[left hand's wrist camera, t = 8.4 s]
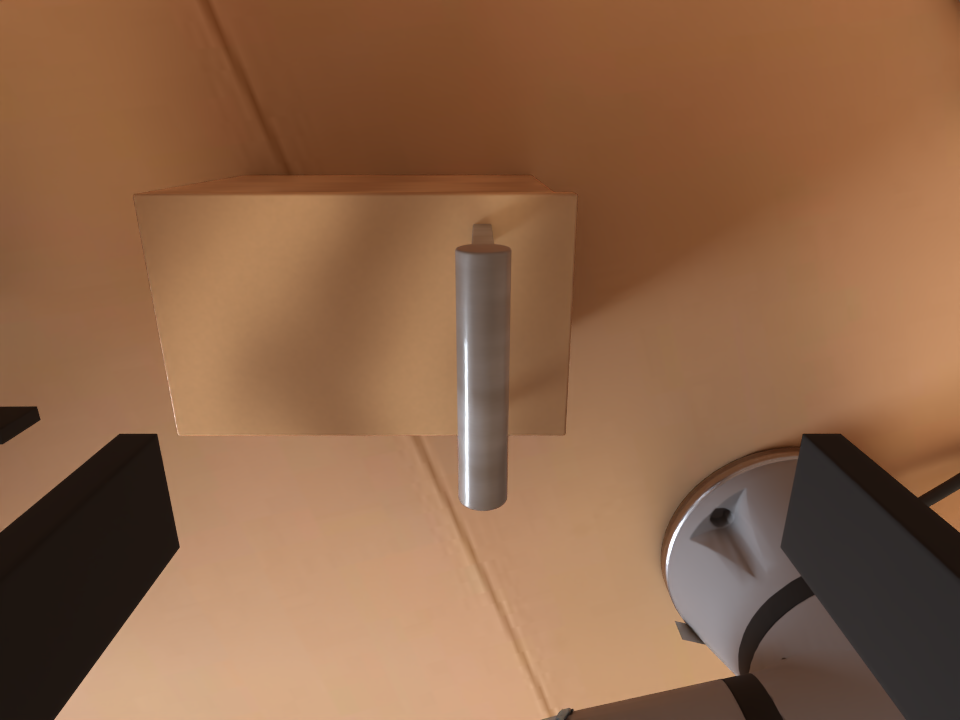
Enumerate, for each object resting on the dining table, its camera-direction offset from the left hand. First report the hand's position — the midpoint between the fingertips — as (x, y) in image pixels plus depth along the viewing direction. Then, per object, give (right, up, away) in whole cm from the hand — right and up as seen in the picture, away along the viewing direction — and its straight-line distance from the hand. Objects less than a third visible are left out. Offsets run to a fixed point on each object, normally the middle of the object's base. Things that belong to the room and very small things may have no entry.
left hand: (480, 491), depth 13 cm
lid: (-5, +5, +12) cm, 14 cm away
